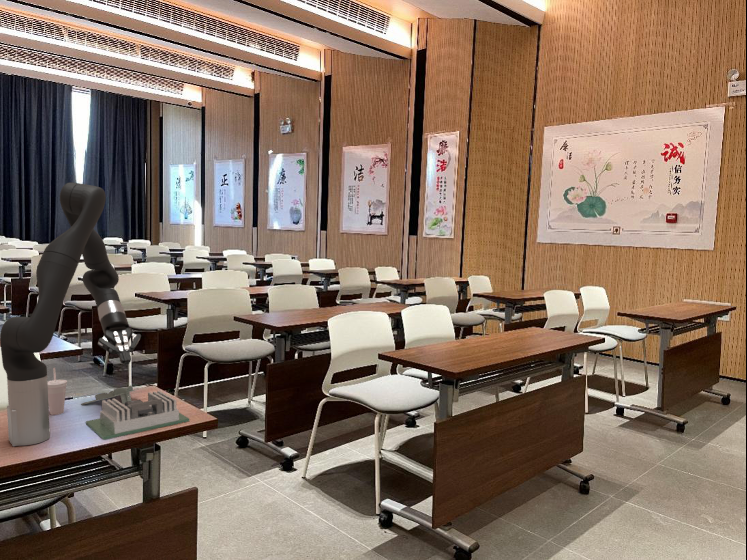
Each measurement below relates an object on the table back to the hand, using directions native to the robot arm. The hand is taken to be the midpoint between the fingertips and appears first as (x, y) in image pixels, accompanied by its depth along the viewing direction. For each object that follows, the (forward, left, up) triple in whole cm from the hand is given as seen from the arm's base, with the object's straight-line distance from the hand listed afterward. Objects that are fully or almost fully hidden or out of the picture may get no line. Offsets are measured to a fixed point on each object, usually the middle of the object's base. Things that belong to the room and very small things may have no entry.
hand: (127, 363), depth 178 cm
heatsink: (0, -8, -16) cm, 18 cm away
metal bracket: (+1, +19, -17) cm, 25 cm away
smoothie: (-16, +17, -16) cm, 28 cm away
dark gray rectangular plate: (0, -4, -11) cm, 12 cm away
